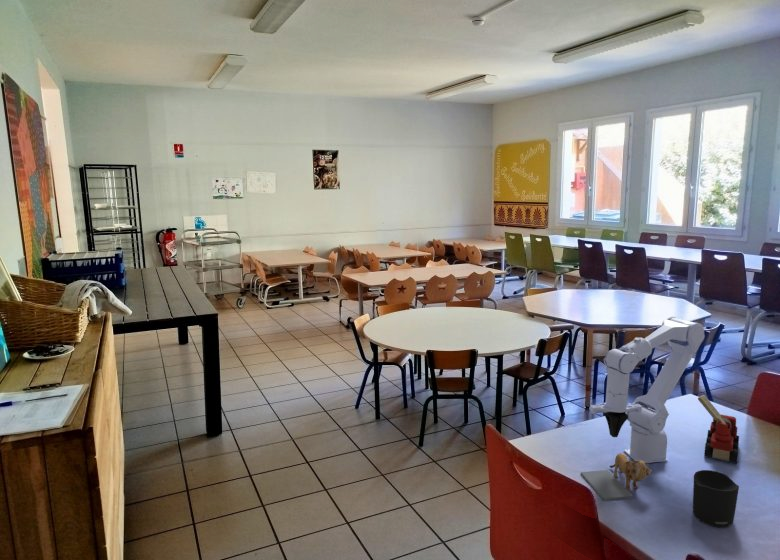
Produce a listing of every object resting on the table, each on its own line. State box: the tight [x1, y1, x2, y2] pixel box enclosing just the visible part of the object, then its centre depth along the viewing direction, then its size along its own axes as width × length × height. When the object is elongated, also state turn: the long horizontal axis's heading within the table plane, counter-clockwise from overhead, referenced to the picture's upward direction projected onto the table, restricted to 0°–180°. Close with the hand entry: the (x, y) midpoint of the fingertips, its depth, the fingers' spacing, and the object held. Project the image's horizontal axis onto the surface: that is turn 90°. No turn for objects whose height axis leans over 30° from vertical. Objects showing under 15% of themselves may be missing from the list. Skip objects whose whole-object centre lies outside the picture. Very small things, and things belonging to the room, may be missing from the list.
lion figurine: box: [609, 452, 652, 491], centre depth 148 cm, size 15×5×9 cm, turn 14°
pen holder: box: [692, 469, 740, 528], centre depth 132 cm, size 9×9×10 cm
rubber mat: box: [580, 469, 633, 501], centre depth 147 cm, size 8×13×1 cm, turn 7°
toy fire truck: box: [697, 394, 740, 464], centre depth 163 cm, size 11×16×18 cm
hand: (613, 435), depth 156 cm, fingers closed
